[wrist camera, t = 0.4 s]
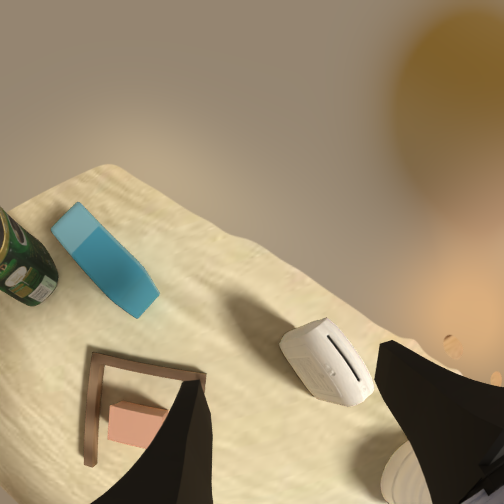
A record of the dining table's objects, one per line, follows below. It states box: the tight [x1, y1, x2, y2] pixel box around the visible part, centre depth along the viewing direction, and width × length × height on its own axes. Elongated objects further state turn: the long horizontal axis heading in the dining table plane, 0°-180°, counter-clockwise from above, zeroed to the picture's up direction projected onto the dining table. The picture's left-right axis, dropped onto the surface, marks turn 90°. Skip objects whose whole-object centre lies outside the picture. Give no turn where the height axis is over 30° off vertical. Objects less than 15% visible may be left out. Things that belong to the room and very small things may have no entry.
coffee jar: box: [0, 207, 58, 306], centre depth 28 cm, size 10×8×19 cm
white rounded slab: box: [279, 317, 374, 407], centre depth 32 cm, size 10×4×12 cm, turn 34°
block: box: [108, 401, 168, 449], centre depth 30 cm, size 4×6×6 cm
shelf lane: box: [84, 352, 206, 467], centre depth 31 cm, size 16×14×2 cm
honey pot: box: [380, 440, 432, 504], centre depth 25 cm, size 13×13×18 cm
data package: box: [51, 202, 160, 319], centre depth 33 cm, size 12×4×12 cm, turn 51°
